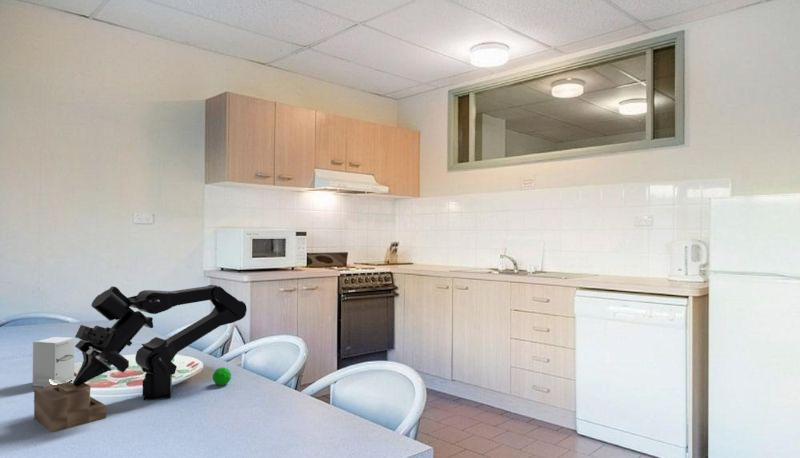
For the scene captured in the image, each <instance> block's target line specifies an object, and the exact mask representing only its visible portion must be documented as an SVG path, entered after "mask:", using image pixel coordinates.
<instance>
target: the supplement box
mask: <svg viewBox="0 0 800 458" xmlns="http://www.w3.org/2000/svg"><path fill="white" fill-rule="evenodd" d="M75 338H76V337H67V336H66V337H64V336H53V337H49V338H44V339H39V340H37V341H33V343H32V386H34V387H40V388H42V387H47V386H52V384H50V382H49V379H52V380H58V381H62V380H71V379H74V380H75Z"/></svg>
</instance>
